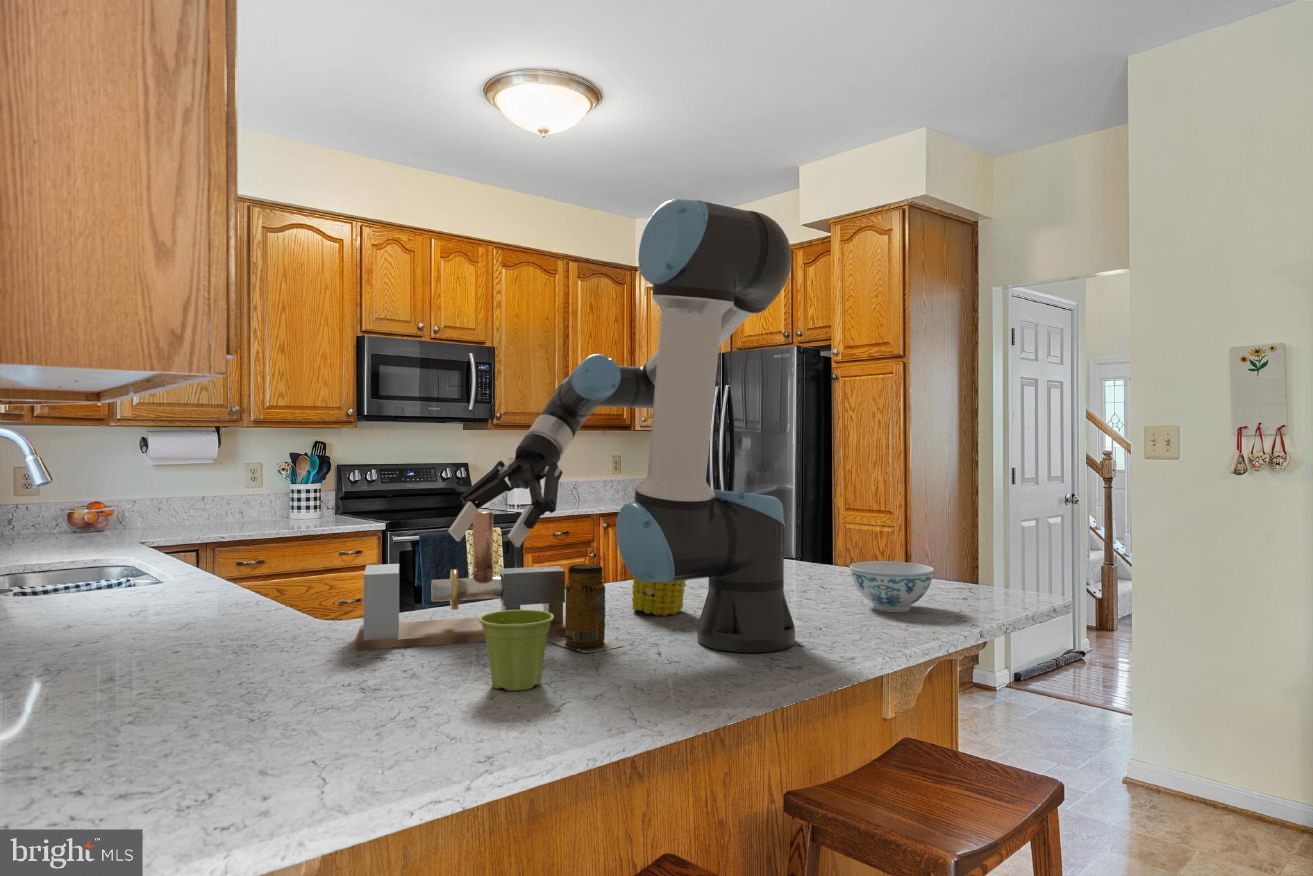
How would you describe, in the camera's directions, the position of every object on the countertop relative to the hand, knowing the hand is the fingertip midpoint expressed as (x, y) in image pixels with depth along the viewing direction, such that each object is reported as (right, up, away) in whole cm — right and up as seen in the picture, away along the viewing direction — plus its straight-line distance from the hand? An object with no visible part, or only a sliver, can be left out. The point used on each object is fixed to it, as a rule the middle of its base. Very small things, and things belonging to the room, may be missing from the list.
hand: (482, 539), depth 132 cm
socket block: (-14, -14, -6) cm, 21 cm away
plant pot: (+11, -15, -30) cm, 35 cm away
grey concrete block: (+8, -14, +1) cm, 16 cm away
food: (+29, -15, +15) cm, 36 cm away
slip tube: (+2, -11, -1) cm, 11 cm away
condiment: (+18, -15, -9) cm, 25 cm away
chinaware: (+72, -15, +18) cm, 76 cm away
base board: (-2, -15, -2) cm, 15 cm away
